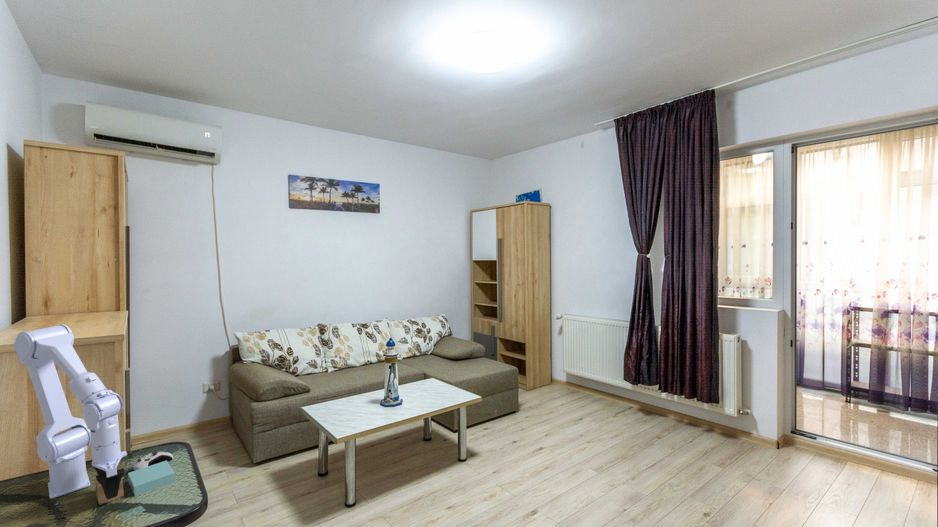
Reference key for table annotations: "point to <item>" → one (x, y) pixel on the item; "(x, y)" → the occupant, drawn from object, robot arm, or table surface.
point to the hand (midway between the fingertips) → (109, 491)
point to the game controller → (151, 459)
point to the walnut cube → (101, 494)
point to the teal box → (151, 477)
